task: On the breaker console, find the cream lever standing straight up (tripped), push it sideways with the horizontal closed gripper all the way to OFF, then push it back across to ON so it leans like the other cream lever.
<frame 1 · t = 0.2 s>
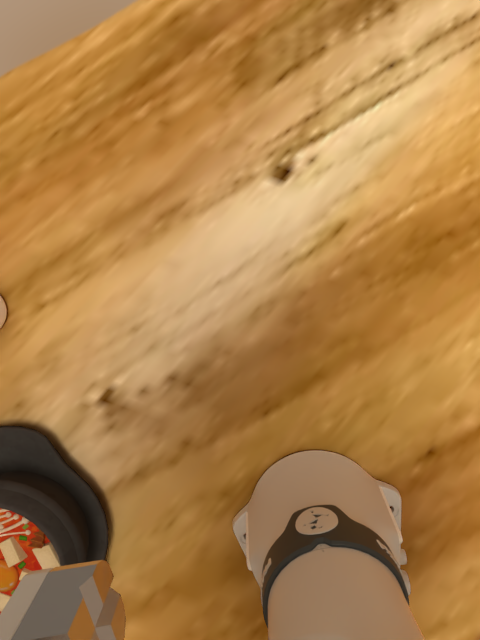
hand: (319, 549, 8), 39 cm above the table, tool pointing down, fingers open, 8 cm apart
casserole: (36, 519, 52), on the table
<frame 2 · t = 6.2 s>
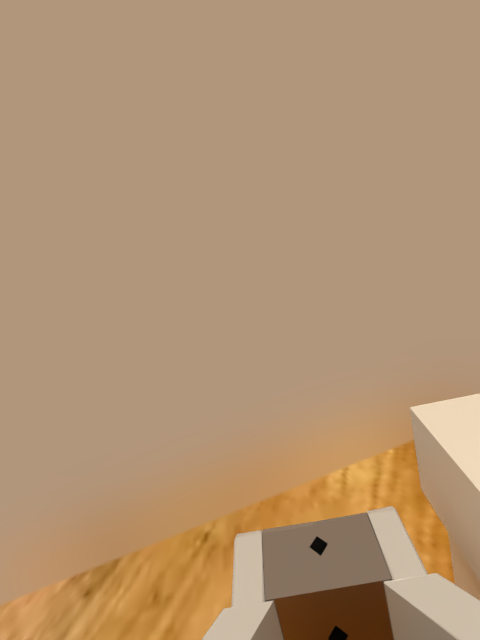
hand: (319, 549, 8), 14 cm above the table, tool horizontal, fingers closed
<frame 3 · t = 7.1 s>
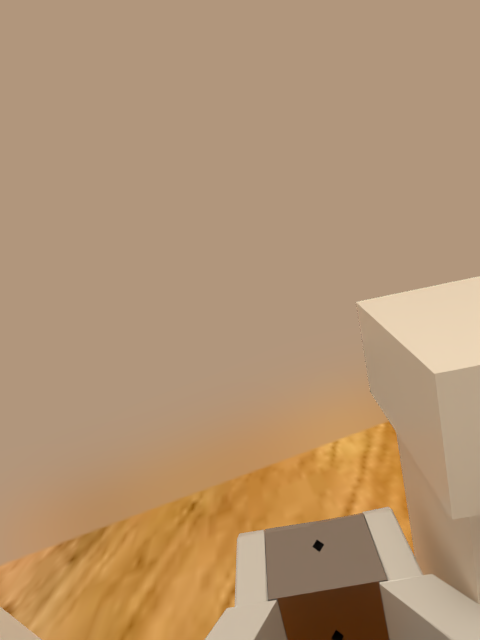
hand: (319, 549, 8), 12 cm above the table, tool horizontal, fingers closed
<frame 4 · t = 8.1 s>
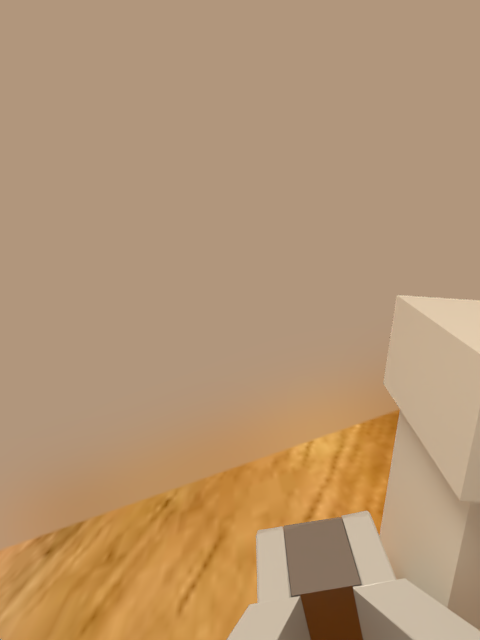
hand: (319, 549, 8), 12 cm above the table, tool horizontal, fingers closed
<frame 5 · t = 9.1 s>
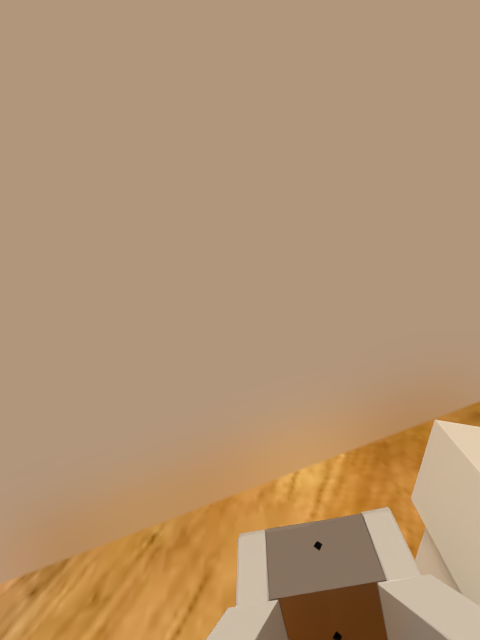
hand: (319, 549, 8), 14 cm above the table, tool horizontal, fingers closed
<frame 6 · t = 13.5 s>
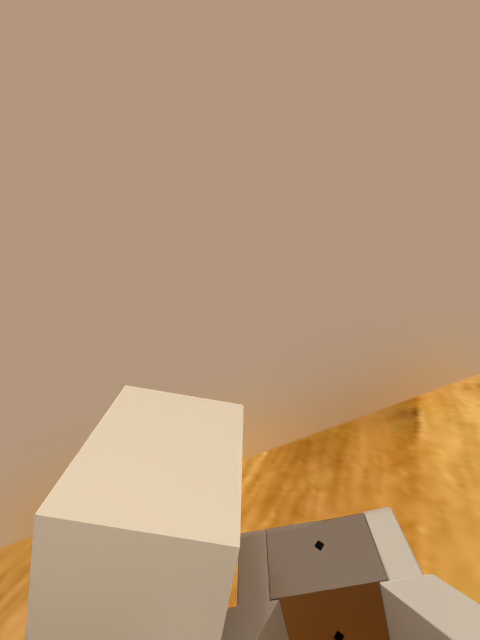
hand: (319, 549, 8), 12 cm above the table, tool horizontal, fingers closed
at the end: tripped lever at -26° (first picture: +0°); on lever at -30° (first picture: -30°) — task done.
